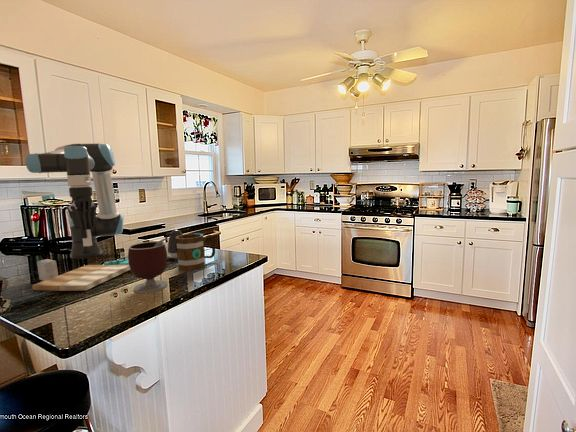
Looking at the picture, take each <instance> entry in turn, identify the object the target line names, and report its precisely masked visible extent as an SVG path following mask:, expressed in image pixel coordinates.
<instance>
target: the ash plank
mask: <svg viewBox="0 0 576 432" xmlns="http://www.w3.org/2000/svg"><path fill="white" fill-rule="evenodd" d="M128 271H131V269H130V266H129V265H119V264H117V265H109V266H106V267H104V268H101V269H99V270H96V271H94V272H91V273H89V274H87V275H84V276H82V277H79V278H77V279H74V280H72V281H69V282H67V283H65V284H62V285H60V286H59V291H61V292H64V291H67V292H68V291H69V292H70V291H78V292H79V291H88V290H90V289H93V288H94V287H96V286H99V285H101V284H102V283H105V282H107V281H109V280H111V279H113V278H115V277H117V276H120V275H122V274H124V273H126V272H128Z"/></svg>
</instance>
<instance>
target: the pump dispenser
mask: <svg viewBox="0 0 576 432" xmlns="http://www.w3.org/2000/svg"><path fill="white" fill-rule="evenodd" d="M165 235H167V236H169V237H168V239H167V240H168V242H167V254H168V255H169V256H170V258H172V259H178V257H177V243H176V236H180V235H184V234H183V233H182V231H181V230H179V229H174V230H172V231H171V232H166V234H165Z"/></svg>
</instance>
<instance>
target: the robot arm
mask: <svg viewBox="0 0 576 432" xmlns="http://www.w3.org/2000/svg"><path fill="white" fill-rule="evenodd" d="M24 161H25V166H26V169H27V171H28V172H30V173H32V174H43V173H66V177H67V185H68V186H69V188H68V193H69V197H70V198H71V204H70V205H67V206H66V210H67V211H68V212H69V214H70V217H71V219H70V220H69V228H70V234H71V243H72V246H71V250H70V254H69V257H70V259H71V260H72V259H73V260H82V259H88V258H94V257H98V256H100V255H102V249H101V248H100V245H99V242H98V241H97V237H107V236H109V237H110V236H117V235H121V234H122V233H123V230H124V215H123V214H121V213H120V211H119V210H117V205H116V201H115V199H116V198H115V194H114V188H113V183H112V176H111V171H113V169H114V168H113V167H114V166H116V160H115V156H114V152H113V149H112V147H111V145H109V144H107V143H100V142H99V143H71V144H65V145H62V146H58V147H57V148H55V149H54V150H51V151H47V152H43V153H37V152H36V153H28V154H26V156H25V160H24ZM91 175H92V179H91ZM92 180H93V185H94V186H93V187H94V193H95V197H96V201H97V202H94V201H93V199H92V197H93V187H92ZM97 208H98V213H97Z"/></svg>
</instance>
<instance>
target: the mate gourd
mask: <svg viewBox="0 0 576 432" xmlns="http://www.w3.org/2000/svg"><path fill="white" fill-rule="evenodd" d="M167 240H168V238H167V237H165V238H162V239H160V240H158V241H145V242H139V243H135V244H131V245H129V247H128V253H127V254H128V255H127V258H128V261H129V266H130V269H131V270H130V271H131V273H132V274H133V275H134V276H135V277H136V278H139V279H144V280H146V281H145V282H141V283H139V284H137V285H135V286H134V287H133V291H134V292H135V293H138V294H149V293H154V292H159V291H162V290H163V289H165V288H167V287H168V285H169V284H168V282H167V281H166V280H160V279H158V280H155V279H156V277H158V276H160V275H162V274H163V273H164V272H165V270H166V268H167V265H168V250H167V246H166V245H165V242H164V241H167Z"/></svg>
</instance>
